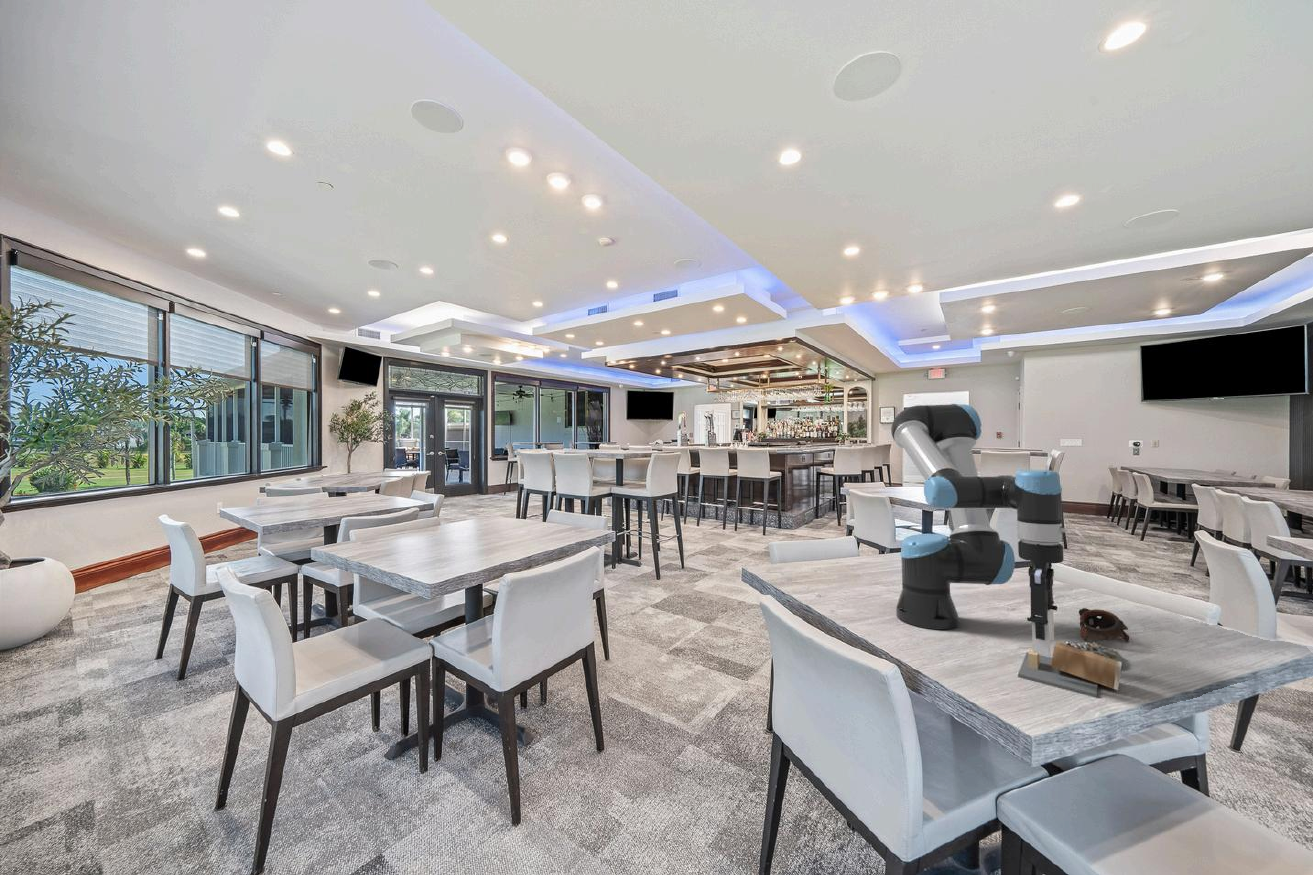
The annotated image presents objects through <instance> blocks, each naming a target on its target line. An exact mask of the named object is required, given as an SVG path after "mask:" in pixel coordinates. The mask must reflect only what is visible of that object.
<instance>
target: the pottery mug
mask: <svg viewBox="0 0 1313 875" xmlns="http://www.w3.org/2000/svg"><path fill="white" fill-rule="evenodd" d="M1078 614H1079V627H1080V633H1079V634H1080V637H1081V638H1082V639H1083V640H1084V641H1087V640H1088V639H1089V640H1090V639H1091V640H1092V639H1093V640H1099V641H1100V640H1101V641H1102V640H1103V641H1107V640H1114V639H1116V638H1121V639H1123V640H1124V641H1125V642H1127V643H1130V635H1129V634H1128V633H1127V632H1126V631H1129V627H1128V626H1127V625H1125V623H1124V622H1123V621H1122V620H1121V619H1120V618H1119V617H1118V616H1117V615H1116V614H1114V613H1112V612H1111V611H1108V610H1104V609H1089V608H1087V607H1085V608H1084V607H1083V608H1081V609H1079V611H1078Z"/></svg>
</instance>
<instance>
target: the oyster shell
mask: <svg viewBox="0 0 1313 875" xmlns="http://www.w3.org/2000/svg"><path fill="white" fill-rule="evenodd" d="M1065 644H1066V645H1069V646H1072V647H1075V648H1078V649H1081V650H1085V651H1088V652H1091V653H1094V654H1097V655H1100V656H1104V657H1107V658H1110V659H1113V660H1116V661H1119V662H1122V663H1123V657H1122V656H1121V655H1122V654H1120V653H1119V652H1118V651H1117V650H1113V649H1109V648H1107V647H1102V646H1098V643H1096V642H1094V641H1093V642H1092V643H1090V642H1086V641H1085V642H1084V643H1082V644H1080V643H1079V642H1069V641H1066V642H1065ZM1122 668H1123V664H1122V665H1121V670H1122Z"/></svg>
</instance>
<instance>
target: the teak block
mask: <svg viewBox="0 0 1313 875" xmlns="http://www.w3.org/2000/svg"><path fill="white" fill-rule="evenodd" d="M1066 644H1067V643H1063V642H1060V641H1059V642H1058V641H1056V643H1054V645H1053V651H1052V652H1053V653H1052V657H1051V658H1052V664H1051V667H1053V668H1056V669H1058V670H1061V671H1064V672H1067V673H1070V674H1073V675H1075V676H1078V677H1081V678H1084V679H1087V680H1090V681H1093V682H1095V683H1098V685H1101V686H1105V687H1106V688H1110V689H1112V690H1113V689H1114V690H1116V691H1119V687H1120V686H1119V685H1120V684H1119V683H1120V678H1121V672H1122V669H1121V665H1122V666H1123V661H1122V662H1119V661H1116V660H1113V659H1110V658H1107V657H1104V656H1100V655H1097V654H1094V653H1091V652H1088V651H1085V650H1081V649H1078V648H1075V647H1072V646H1069V645H1066Z"/></svg>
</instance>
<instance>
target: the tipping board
mask: <svg viewBox="0 0 1313 875" xmlns="http://www.w3.org/2000/svg"><path fill="white" fill-rule="evenodd" d="M1025 653H1026V654H1025V656H1024V658H1023V661H1022V664H1021V665H1020V668H1019V670H1018V673H1017V677H1018V678H1021V679H1025V680H1029V681H1033V682H1036V683H1041V684H1044V685H1048V686H1052V687H1055V688H1060V689H1064V690H1067V691H1070V692H1071V691H1072V692H1075V693H1079V694H1082V695H1086V696H1089V697H1092V698H1093V697H1094V698H1098V685H1099V684H1098V683H1095V682H1093V681H1090V680H1087V679H1084V678H1081V677H1078V676H1075V675H1073V674H1070V673H1067V672H1064V671H1061V670H1058V669H1056V668H1053V667H1051V664H1052V657H1050V656H1046V655H1041V654H1037V653H1033V647H1030V648H1029V650H1028V652H1027V651H1026V652H1025Z"/></svg>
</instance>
